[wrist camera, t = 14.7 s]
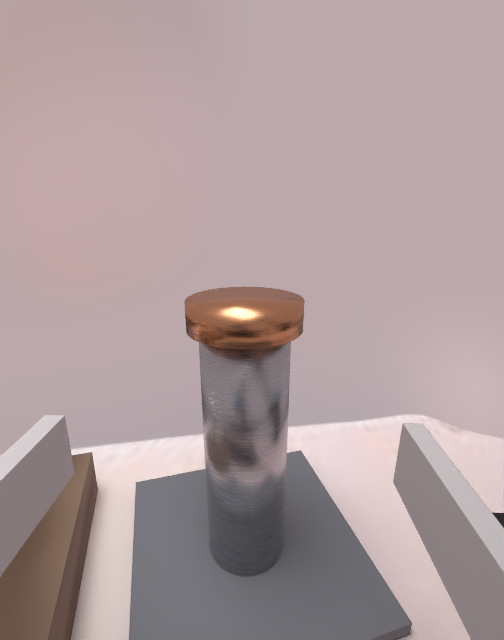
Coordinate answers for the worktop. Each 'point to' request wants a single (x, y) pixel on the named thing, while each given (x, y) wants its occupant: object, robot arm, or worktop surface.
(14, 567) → the bore block
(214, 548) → the steel plug
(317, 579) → the rubber pad
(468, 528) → the robot arm
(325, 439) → the worktop surface
